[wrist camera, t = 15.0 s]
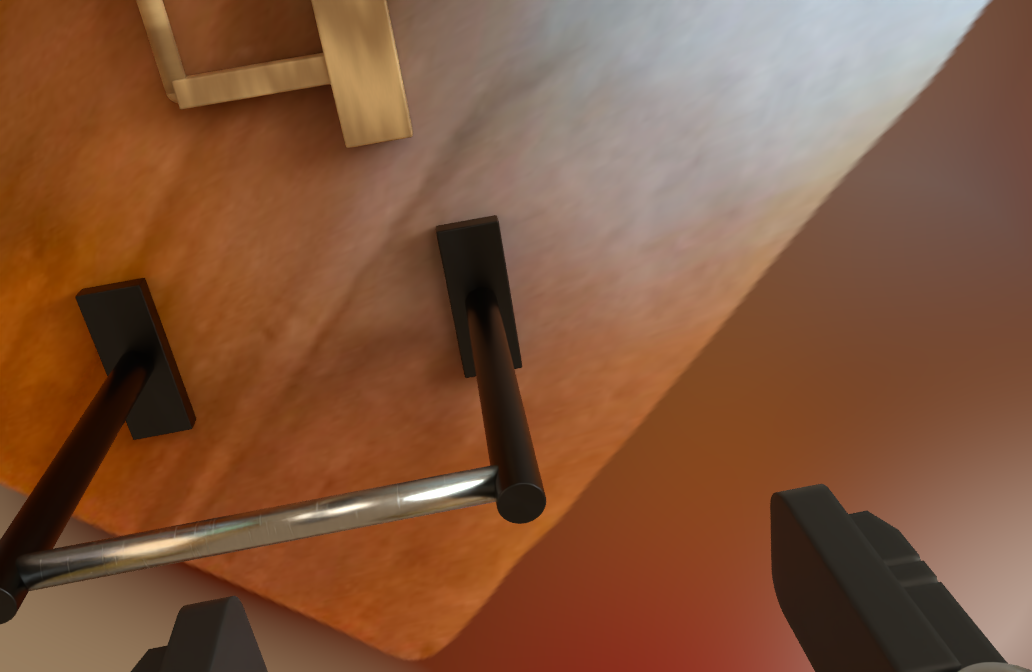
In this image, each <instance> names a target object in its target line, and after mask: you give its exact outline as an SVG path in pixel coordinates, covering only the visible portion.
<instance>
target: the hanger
mask: <svg viewBox="0 0 1032 672" xmlns="http://www.w3.org/2000/svg"><path fill="white" fill-rule="evenodd" d="M136 2H137V5H138V8H139V11H140V14H141V17H142V20H143V23H144V27H145V30H146V33H147V36H148V39H149V42H150V45H151V48H152V52H153V55H154V58H155V61H156V64H157V67H158V70H159V73H160V76H161V80H162V83H163V86H164V89H165V92H166V95H167V97H168V98H169V99H170V100H171V101H173V102H175V103H178V104H179V107H180V109H188V108H194V107H199V106H205V105H211V104H217V103H223V102H229V101H235V100H240V99H246V98H252V97H258V96H264V95H270V94H275V93H281V92H287V91H293V90H299V89H305V88H311V87H316V86H322V85H328V84H331V87H332V91H333V95H334V99H335V104H336V108H337V112H338V116H339V121H340V125H341V129H342V133H343V138H344V142H345V146H346V148H351V147H357V146H363V145H369V144H374V143H380V142H386V141H392V140H397V139H403V138H409V137H412V135H413V134H412V125H411V120H410V115H409V110H408V105H407V100H406V95H405V90H404V85H403V80H402V75H401V70H400V65H399V60H398V55H397V50H396V45H395V40H394V35H393V30H392V25H391V20H390V15H389V10H388V5H387V0H311V2H312V6H313V11H314V15H315V19H316V23H317V28H318V32H319V36H320V40H321V45H322V49H323V53H318V54H312V55H306V56H300V57H294V58H288V59H282V60H277V61H271V62H265V63H259V64H253V65H247V66H241V67H235V68H229V69H224V70H218V71H212V72H206V73H200V74H194V75H188V76H186V74H185V71H184V68H183V65H182V61H181V58H180V55H179V52H178V48H177V45H176V42H175V39H174V36H173V32H172V29H171V26H170V23H169V19H168V16H167V13H166V10H165V6H164V3H163V0H136Z"/></svg>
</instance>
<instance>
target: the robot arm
mask: <svg viewBox="0 0 1032 672" xmlns="http://www.w3.org/2000/svg"><path fill="white" fill-rule="evenodd" d="M770 510H771V560H772V578H773V583H774V588H775V592H776V596H777V599H778V602H779V604H780V607H781V609H782V612H783V614H784V615H785V617H786V619H787V621H788V623H789V625H790V627H791V628H792V630H793V632H794V634H795V636H796V638H797V639H798V641H799V643H800V645H801V647H802V648H803V650H804V652H805V654H806V656H807V657H808V659H809V661H810V663H811V665H812V667H813V668H814V670H815V672H1032V671H1031V670H1029V669H1026V668H1023V667H1020V666H1016V665H1012V664H1008V663H1007V662H1006V661H1005V660H1004V658H1003V657H1002V656H1001V655H1000V654H999V652H998V651H997V650H996V649H995V648H994V646H993V645H992V644H991V643H990V641H989V640H988V639H987V638H986V637H985V635H984V634H983V633H982V631H981V630H980V629H979V628H978V627H977V625H976V624H975V623H974V622H973V621H972V619H971V618H970V617H969V616H968V614H967V613H966V612H965V611H964V610H963V608H962V607H961V606H960V605H959V603H958V602H957V601H956V600H955V599H954V597H953V596H952V595H951V594H950V592H949V591H948V590H947V589H946V588H945V586H944V585H943V584H942V583H941V582H938V581H937V576H936V575H935V574H934V573H933V572H932V570H931V569H930V568H929V567H928V566H927V564H926V563H925V562H924V561H921V560H920V557H919V554H918V553H917V552H916V551H915V549H914V548H913V547H912V546H911V545H910V543H909V542H908V541H907V540H906V538H905V537H904V536H903V535H902V534H901V532H900V531H899V530H898V529H896V528H894V527H893V526H891V525H890V524H888V523H886V522H885V521H883V520H881V519H880V518H878V517H877V516H874V515H873V514H872V513H870V512H868V511H863V512H858V513H853V514H848V513H847V512H846V511H845V509H844V508H843V507H842V505H841V504H840V503H839V501H838V500H837V499H836V497H835V496H834V495H833V494H832V492H831V491H830V490H829V488H828V487H827V486H825V485H824V484H818V485H812V486H807V487H802V488H797V489H792V490H787V491H781V492H776V493H774V494H773V495H772V497H771V505H770ZM131 672H268V671H267V668H266V666H265V663H264V660H263V658H262V655H261V652H260V650H259V647H258V644H257V642H256V639H255V637H254V634H253V631H252V629H251V626H250V623H249V621H248V618H247V615H246V613H245V610H244V608H243V605H242V603H241V601H240V600H239V598H238V597H236V596H231V597H226V598H220V599H215V600H210V601H205V602H200V603H195V604H190V605H185V606H183V607H182V608H181V609H180V611H179V613H178V615H177V619H176V621H175V624H174V628H173V631H172V634H171V637H170V640H169V643H168V646H163V647H158V648H153V649H149V650H148V651H147V652H146V653H145V655H144V656H143V657H142V658H141V660H140V661H139V662H138V663H137V665H136V666H135V667H134V668H133V670H132V671H131Z"/></svg>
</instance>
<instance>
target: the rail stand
mask: <svg viewBox="0 0 1032 672" xmlns="http://www.w3.org/2000/svg"><path fill="white" fill-rule="evenodd" d="M436 234H437V239H438V244H439V249H440V254H441V259H442V264H443V269H444V274H445V279H446V284H447V289H448V294H449V299H450V304H451V309H452V314H453V319H454V325H455V330H456V335H457V340H458V345H459V350H460V355H461V360H462V365H463V370H464V375H465V378H469V377H474V376H476V377H477V383H478V390H479V396H480V402H481V409H482V415H483V421H484V428H485V434H486V440H487V447H488V453H489V459H490V466H487V467H481V468H476V469H471V470H466V471H460V472H455V473H450V474H445V475H439V476H434V477H429V478H424V479H418V480H413V481H408V482H403V483H397V484H392V485H387V486H381V487H376V488H371V489H366V490H360V491H355V492H350V493H345V494H339V495H334V496H329V497H324V498H318V499H313V500H308V501H303V502H297V503H292V504H287V505H281V506H276V507H271V508H266V509H260V510H255V511H250V512H245V513H239V514H234V515H229V516H224V517H218V518H213V519H208V520H202V521H197V522H192V523H187V524H181V525H176V526H171V527H166V528H160V529H155V530H150V531H145V532H139V533H134V534H129V535H124V536H118V537H113V538H108V539H102V540H98V541H92V542H87V543H81V544H76V545H71V546H66V547H61V548H55V549H53V547H54V546H55V544H56V542H57V540H58V538H59V537H60V535H61V533H62V531H63V529H64V528H65V526H66V524H67V522H68V521H69V519H70V517H71V515H72V514H73V512H74V510H75V508H76V507H77V505H78V503H79V501H80V500H81V498H82V496H83V494H84V493H85V491H86V489H87V487H88V485H89V484H90V482H91V480H92V478H93V477H94V475H95V473H96V471H97V470H98V468H99V466H100V464H101V463H102V461H103V459H104V457H105V455H106V454H107V452H108V450H109V448H110V447H111V445H112V443H113V441H114V440H115V438H116V436H117V434H118V432H119V431H120V429H121V427H122V425H123V424H124V422H125V420H126V423H127V425H128V428H129V430H130V432H131V435H132V437H133V440H136V439H141V438H147V437H152V436H158V435H163V434H168V433H174V432H179V431H184V430H190V429H192V428H193V426H194V424H195V421H196V417H195V414H194V411H193V409H192V406H191V403H190V400H189V398H188V395H187V392H186V389H185V387H184V384H183V381H182V378H181V376H180V373H179V370H178V368H177V365H176V362H175V359H174V357H173V354H172V351H171V348H170V346H169V343H168V340H167V337H166V335H165V332H164V329H163V326H162V324H161V321H160V318H159V315H158V313H157V310H156V307H155V304H154V302H153V299H152V296H151V293H150V291H149V288H148V285H147V282H146V280H145V278H141V279H135V280H129V281H124V282H118V283H113V284H107V285H101V286H96V287H90V288H84V289H82V290H81V291H80V292H79V293H78V294H77V295H76V300H77V302H78V305H79V307H80V310H81V312H82V315H83V317H84V320H85V322H86V325H87V327H88V329H89V332H90V334H91V337H92V339H93V342H94V344H95V347H96V349H97V352H98V354H99V356H100V359H101V361H102V364H103V366H104V369H105V371H106V374H107V376H108V377H107V379H106V380H105V382H104V384H103V385H102V387H101V388H100V390H99V391H98V393H97V394H96V396H95V397H94V399H93V400H92V402H91V403H90V405H89V406H88V408H87V409H86V411H85V412H84V414H83V415H82V417H81V418H80V420H79V421H78V423H77V424H76V426H75V427H74V429H73V430H72V432H71V434H70V435H69V437H68V438H67V440H66V441H65V443H64V444H63V446H62V447H61V449H60V450H59V452H58V453H57V455H56V456H55V458H54V459H53V461H52V462H51V464H50V465H49V467H48V468H47V470H46V471H45V473H44V474H43V476H42V477H41V479H40V481H39V482H38V484H37V485H36V487H35V488H34V490H33V491H32V493H31V494H30V496H29V497H28V499H27V500H26V502H25V503H24V505H23V506H22V508H21V510H20V511H19V512H18V514H17V515H16V517H15V518H14V520H13V521H12V523H11V525H10V526H9V528H8V529H7V531H6V532H5V534H4V535H3V537H2V538H1V540H0V624H3V623H6V622H8V621H9V620H11V619H12V618H13V617H14V616H15V614H16V612H17V611H18V609H19V607H20V606H21V604H22V602H23V600H24V598H25V597H26V595H27V593H28V591H32V590H38V589H43V588H48V587H53V586H58V585H63V584H68V583H74V582H79V581H84V580H89V579H95V578H99V577H105V576H110V575H116V574H121V573H126V572H131V571H136V570H142V569H147V568H152V567H157V566H162V565H168V564H173V563H178V562H184V561H189V560H194V559H199V558H204V557H210V556H215V555H220V554H225V553H231V552H236V551H241V550H246V549H251V548H257V547H262V546H267V545H272V544H277V543H283V542H288V541H293V540H298V539H304V538H309V537H314V536H319V535H324V534H330V533H335V532H340V531H345V530H351V529H356V528H361V527H366V526H371V525H377V524H382V523H387V522H392V521H397V520H403V519H408V518H413V517H418V516H424V515H429V514H434V513H439V512H444V511H450V510H455V509H460V508H465V507H470V506H476V505H481V504H486V503H491V502H496V504H497V509H498V512H499V513H500V515H501V516H502V517H503V518H504V519H505V520H507V521H509V522H512V523H518V524H521V523H527V522H530V521H533V520H534V519H536V518H537V517H539V516H540V515H541V513H542V512H543V510H544V508H545V505H546V497H545V492H544V488H543V484H542V480H541V476H540V472H539V468H538V464H537V460H536V456H535V452H534V448H533V444H532V440H531V435H530V431H529V427H528V423H527V419H526V415H525V411H524V407H523V403H522V399H521V395H520V391H519V387H518V383H517V378H516V374H515V370H514V369H517V368H522V361H521V355H520V349H519V343H518V337H517V330H516V324H515V318H514V312H513V306H512V300H511V294H510V288H509V281H508V275H507V269H506V263H505V257H504V251H503V245H502V238H501V232H500V226H499V221H498V218H497V216H489V217H484V218H478V219H472V220H467V221H461V222H456V223H450V224H444V225H439V226H436Z"/></svg>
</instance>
